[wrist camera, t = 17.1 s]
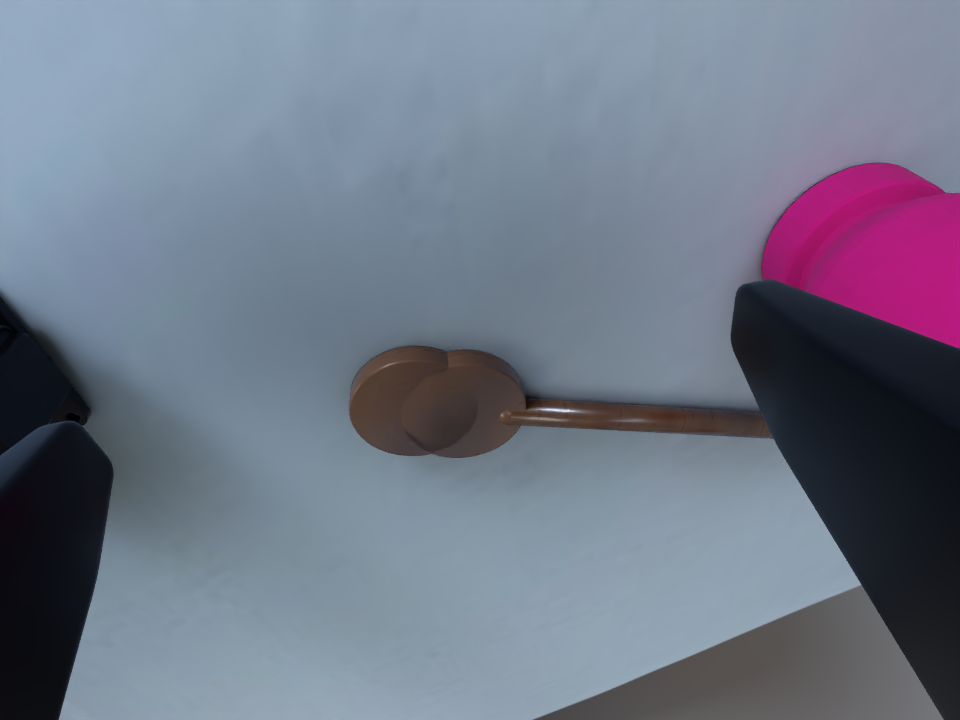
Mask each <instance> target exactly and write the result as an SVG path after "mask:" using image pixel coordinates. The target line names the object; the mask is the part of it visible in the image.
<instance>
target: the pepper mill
mask: <svg viewBox="0 0 960 720" xmlns="http://www.w3.org/2000/svg"><path fill="white" fill-rule="evenodd" d="M762 274H763V280H766V279H773V280H776V281H779V282H781V283H784V284H787V285H789V286H792V287H795V288H798V289H800V290H803V291H806V292H808V293H811V294H814V295H816V296H819V297H822V298H824V299H827V300H830V301H833V302H835V303H838V304H841V305H843V306H846V307H849V308H851V309H854V310H857V311H859V312H862V313H865V314H868V315H870V316H873V317H876V318H878V319H881V320H884V321H886V322H889V323H892V324H894V325H897V326H900V327H903V328H905V329H908V330H911V331H913V332H916V333H919V334H921V335H924V336H927V337H929V338H932V339H935V340H938V341H940V342H943V343H946V344H948V345H951V346H954V347H956V348H959V349H960V193H945V192H944V191H943V190H942V189H940V188H939V187H937V186H936V185H934V184H932V183H930V182H929V181H927V180H925V179H923V178H922V177H920V176H918V175H916V174H914V173H913V172H911V171H909V170H907V169H906V168H903V167H901V166H898V165H894V164H888V163H871V164H864V165H860V166H855V167H850V168H848V169H846V170H843V171H841V172H838V173H836V174H834V175H831V176H829V177H828V178H826V179H824V180H823V181H821V182H820V183H818V184H816V185H815V186H813V187H811V188H810V189H809V190H808V191H807V192H805V193H804V194H803V195H802V196H801V197H800V198H799V199H798V200H797V201H795V202H794V203H793V204H792V205H791V206H790V207H789V208H788V209H787V210H786V212H785V213H784V215H783V216H782V217H781V219H780V220H779V222H778V223H777V224H776V226H775V227H774V229H773V230H772V232H771V234H770V236H769V239H768V241H767V244H766V247H765V250H764V254H763V261H762Z"/></svg>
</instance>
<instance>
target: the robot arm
mask: <svg viewBox="0 0 960 720" xmlns="http://www.w3.org/2000/svg"><path fill="white" fill-rule="evenodd" d="M731 344H732V348H733V351H734V353H735V356H736V358H737V360H738V362H739V364H740V367H741V369H742V371H743V373H744V375H745V378H746V380H747V382H748V384H749V386H750V389H751V391H752V393H753V395H754V397H755V400H756V402H757V404H758V406H759V408H760V411H761V413H762V415H763V417H764V419H765V422H766V424H767V426H768V428H769V430H770V432H771V434H772V436H773V438H774V440H775V442H776V444H777V446H778V448H779V450H780V451H781V453H782V455H783V456H784V458H785V460H786V462H787V463H788V465H789V466H790V468H791V470H792V471H793V473H794V475H795V476H796V478H797V480H798V481H799V483H800V484H801V486H802V488H803V489H804V491H805V493H806V494H807V496H808V498H809V499H810V501H811V503H812V504H813V506H814V507H815V509H816V511H817V512H818V514H819V516H820V517H821V519H822V521H823V522H824V524H825V525H826V527H827V529H828V530H829V532H830V534H831V535H832V537H833V539H834V540H835V542H836V544H837V545H838V547H839V548H840V550H841V552H842V553H843V555H844V557H845V558H846V560H847V562H848V563H849V565H850V566H851V568H852V570H853V571H854V573H855V575H856V576H857V578H858V580H859V581H860V583H861V585H862V586H863V588H864V589H865V591H866V593H867V594H868V596H869V598H870V599H871V601H872V603H873V604H874V606H875V607H876V609H877V611H878V612H879V614H880V616H881V617H882V619H883V621H884V622H885V624H886V626H887V627H888V629H889V630H890V632H891V633H892V635H893V637H894V638H895V640H896V642H897V644H898V645H899V647H900V649H901V650H902V652H903V653H904V655H905V657H906V658H907V660H908V662H909V663H910V665H911V666H912V668H913V670H914V671H915V673H916V675H917V676H918V678H919V680H920V681H921V683H922V685H923V686H924V688H925V689H926V691H927V693H928V694H929V696H930V698H931V699H932V701H933V703H934V704H935V706H936V708H937V709H938V711H939V712H940V714H941V716H942V717H943V719H944V720H960V349H959V348H956V347H954V346H951V345H948V344H946V343H943V342H940V341H938V340H935V339H932V338H929V337H927V336H924V335H921V334H919V333H916V332H913V331H911V330H908V329H905V328H903V327H900V326H897V325H894V324H892V323H889V322H886V321H884V320H881V319H878V318H876V317H873V316H870V315H868V314H865V313H862V312H859V311H857V310H854V309H851V308H849V307H846V306H843V305H841V304H838V303H835V302H833V301H830V300H827V299H824V298H822V297H819V296H816V295H814V294H811V293H808V292H806V291H803V290H800V289H798V288H795V287H792V286H789V285H787V284H784V283H781V282H779V281H776V280H773V279H766V280H761V281H756V282H752V283H747V284H743V285H742V286H740V287H739V288H738V290H737V292H736V296H735V304H734V312H733V319H732V327H731ZM73 413H75V414H73ZM76 414H77V415H76ZM90 415H91V410H90V408H89V407H88V406H87V404H86V403H85V402H84V401H83V399H82V398H81V397H80V396H79V394H78V393H77V392H76V391H75V390H74V388H73V387H72V386H71V385H70V383H69V382H68V381H67V380H66V378H65V377H64V376H63V375H62V373H61V372H60V371H59V370H58V368H57V367H56V366H55V365H54V363H53V362H52V361H51V360H50V358H49V357H48V356H47V355H46V353H45V352H44V351H43V350H42V348H41V347H40V346H39V345H38V344H37V342H36V341H35V340H34V339H33V337H32V336H31V335H30V334H29V332H28V331H27V330H26V329H25V327H24V326H23V325H22V324H21V322H20V321H19V320H18V319H17V317H16V316H15V315H14V314H13V312H12V311H11V310H10V309H9V307H8V306H7V305H6V304H5V302H4V301H3V300H2V299H1V298H0V720H59V716H60V713H61V709H62V705H63V702H64V698H65V694H66V691H67V687H68V683H69V680H70V676H71V672H72V669H73V665H74V662H75V658H76V654H77V651H78V647H79V643H80V640H81V636H82V632H83V629H84V625H85V621H86V618H87V614H88V610H89V607H90V603H91V600H92V596H93V592H94V588H95V584H96V580H97V575H98V570H99V564H100V559H101V552H102V546H103V540H104V534H105V527H106V521H107V515H108V508H109V502H110V496H111V490H112V483H113V476H114V474H113V467H112V463H111V461H110V459H109V458H108V456H107V455H106V454H105V453H104V451H103V450H102V449H101V448H100V447H99V446H98V444H97V443H96V442H95V441H94V440H93V438H92V437H91V436H90V435H89V434H88V432H87V431H86V430H85V429H84V428H83V427H82V425H84V424H85V423H86V422H87V421H88V419H89V417H90Z"/></svg>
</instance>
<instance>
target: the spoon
mask: <svg viewBox="0 0 960 720" xmlns="http://www.w3.org/2000/svg"><path fill="white" fill-rule="evenodd" d="M349 415H350V419H351V422H352V425H353V426H354V428H355V430H356V431H357V433H358V434H359V435H360V436H361V437H362V438H363V439H364V440H365V441H366V442H368V443H369V444H370V445H372V446H374V447H376V448H378V449H380V450H382V451H385V452H388V453H392V454H397V455H404V456H420V455H428V454H434V455H437V456H442V457H450V458H463V457H471V456H477V455H480V454H484V453H487V452H489V451H492V450H494V449H496V448H498V447H499V446H501V445H503V444H504V443H505V442H507V441H508V440H509V439H510V438H511V437H512V436H513V435H514V434H515V433H516V432H517V431H518V429H519V428H520V426H521V425H524V426H543V427H562V428H580V429H599V430H618V431H637V432H656V433H675V434H694V435H713V436H732V437H751V438H770V439H774V438H773V436H772V434H771V432H770V430H769V428H768V426H767V424H766V422H765V419H764V417H763V415H762V413H760V412H744V411H728V410H712V409H696V408H680V407H664V406H648V405H632V404H616V403H600V402H584V401H568V400H552V399H536V398H525V394H524V390H523V386H522V383H521V380H520V378H519V376H518V374H517V373H516V371H515V370H514V369H513V368H512V367H511V366H510V365H509V364H508V363H507V362H505V361H504V360H502V359H501V358H499V357H497V356H495V355H492V354H489V353H486V352H482V351H476V350H455V351H449V352H445V351H443V350H440V349H436V348H432V347H425V346H408V347H401V348H396V349H393V350H389V351H387V352H384V353H382V354H380V355H378V356H376V357H374V358H373V359H371V360H370V361H369V362H367V363H366V364H365V365H364V366H363V367H362V368H361V369H360V371H359V372H358V373H357V375H356V377H355V378H354V380H353V383H352V386H351V391H350V400H349Z"/></svg>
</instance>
